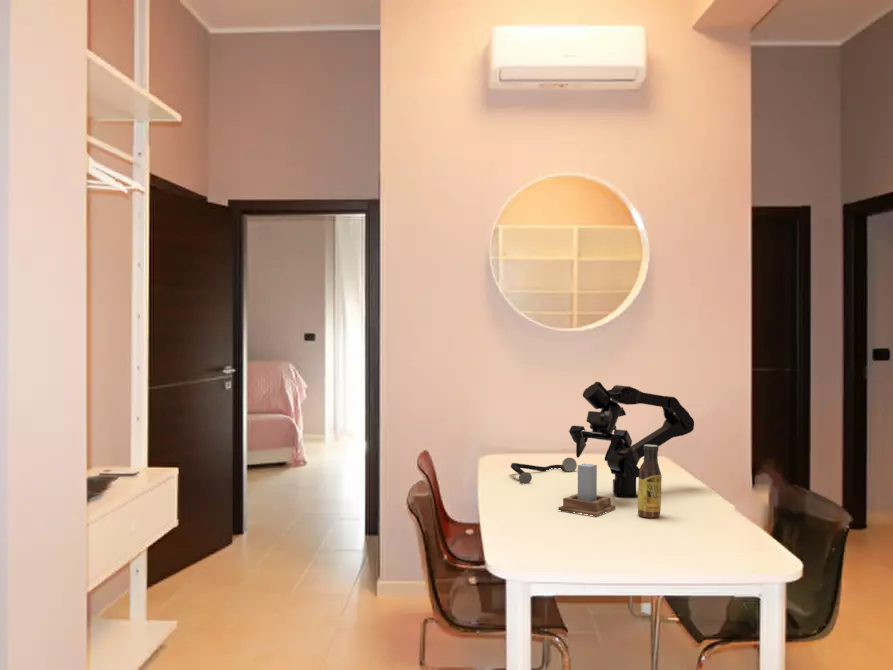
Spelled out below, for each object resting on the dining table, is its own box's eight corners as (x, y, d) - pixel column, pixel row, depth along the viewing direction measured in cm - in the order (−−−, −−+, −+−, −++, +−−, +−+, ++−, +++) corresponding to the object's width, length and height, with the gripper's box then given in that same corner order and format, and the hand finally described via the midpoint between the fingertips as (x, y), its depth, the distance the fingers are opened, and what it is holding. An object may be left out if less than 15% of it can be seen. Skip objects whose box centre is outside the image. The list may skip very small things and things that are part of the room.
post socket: (578, 503, 233) (578, 491, 233) (615, 509, 226) (615, 497, 226) (558, 510, 224) (558, 498, 224) (596, 517, 216) (596, 504, 216)
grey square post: (584, 504, 228) (584, 463, 227) (596, 506, 225) (596, 465, 225) (577, 506, 224) (577, 465, 224) (590, 508, 222) (590, 466, 222)
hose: (525, 485, 261) (526, 469, 261) (492, 480, 270) (492, 464, 270) (578, 472, 286) (578, 457, 286) (546, 467, 296) (546, 453, 296)
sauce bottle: (648, 519, 213) (648, 447, 213) (632, 515, 219) (633, 444, 219) (666, 517, 216) (666, 446, 216) (650, 512, 222) (651, 443, 222)
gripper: (572, 399, 242) (554, 438, 233) (628, 403, 230) (612, 444, 222) (583, 422, 248) (566, 461, 239) (638, 427, 237) (623, 468, 228)
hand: (591, 458), depth 232 cm, fingers open, 9 cm apart
